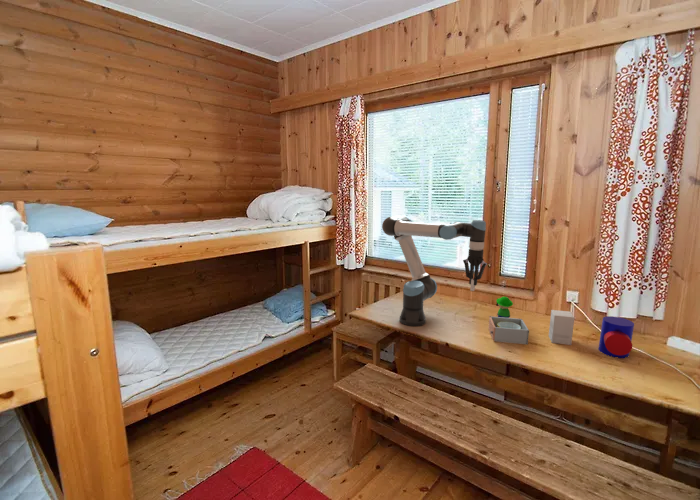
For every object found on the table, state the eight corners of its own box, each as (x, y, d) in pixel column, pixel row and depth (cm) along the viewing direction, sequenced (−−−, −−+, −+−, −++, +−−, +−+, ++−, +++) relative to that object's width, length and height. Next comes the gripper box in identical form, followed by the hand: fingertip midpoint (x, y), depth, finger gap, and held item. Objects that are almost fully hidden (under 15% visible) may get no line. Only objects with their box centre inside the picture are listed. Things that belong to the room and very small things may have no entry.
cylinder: (632, 364, 161) (637, 331, 158) (600, 357, 167) (604, 325, 164) (625, 346, 178) (630, 316, 175) (596, 341, 184) (601, 312, 181)
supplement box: (567, 338, 188) (570, 311, 185) (571, 345, 180) (575, 317, 177) (548, 335, 191) (551, 309, 188) (551, 342, 182) (554, 315, 180)
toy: (508, 318, 214) (510, 294, 212) (513, 324, 206) (515, 299, 203) (493, 317, 215) (494, 294, 212) (497, 323, 207) (499, 298, 204)
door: (490, 340, 185) (491, 327, 184) (486, 328, 200) (487, 315, 199) (494, 340, 185) (495, 327, 183) (489, 328, 200) (490, 316, 198)
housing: (494, 341, 184) (495, 327, 183) (490, 329, 199) (491, 316, 198) (527, 344, 181) (529, 330, 179) (520, 331, 196) (522, 318, 194)
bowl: (501, 330, 198) (502, 319, 197) (523, 336, 190) (524, 325, 189) (492, 336, 190) (493, 325, 189) (515, 343, 182) (516, 331, 181)
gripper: (490, 249, 191) (486, 291, 196) (467, 246, 200) (463, 286, 205) (485, 251, 186) (481, 294, 191) (461, 248, 194) (458, 289, 199)
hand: (472, 290), depth 198 cm, fingers closed
